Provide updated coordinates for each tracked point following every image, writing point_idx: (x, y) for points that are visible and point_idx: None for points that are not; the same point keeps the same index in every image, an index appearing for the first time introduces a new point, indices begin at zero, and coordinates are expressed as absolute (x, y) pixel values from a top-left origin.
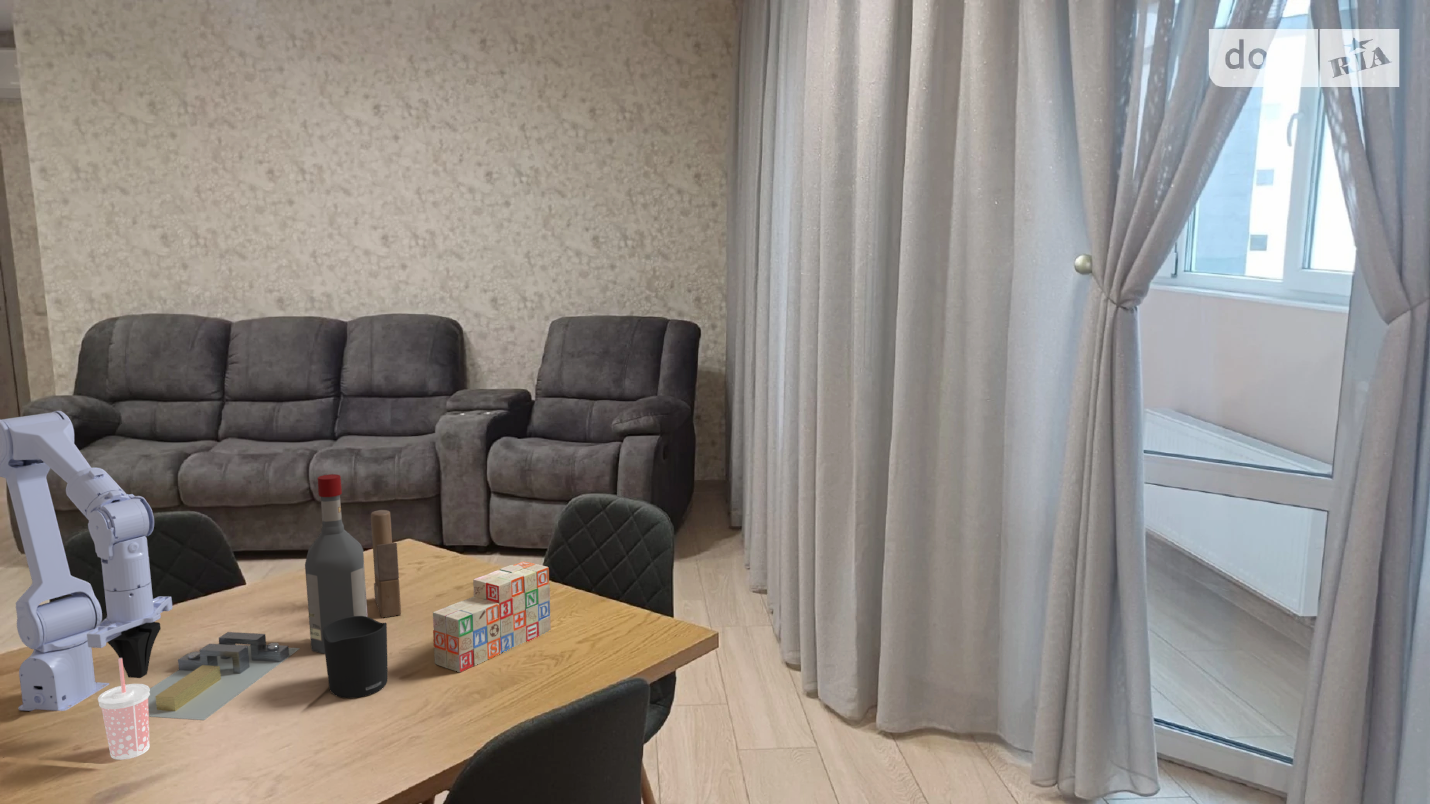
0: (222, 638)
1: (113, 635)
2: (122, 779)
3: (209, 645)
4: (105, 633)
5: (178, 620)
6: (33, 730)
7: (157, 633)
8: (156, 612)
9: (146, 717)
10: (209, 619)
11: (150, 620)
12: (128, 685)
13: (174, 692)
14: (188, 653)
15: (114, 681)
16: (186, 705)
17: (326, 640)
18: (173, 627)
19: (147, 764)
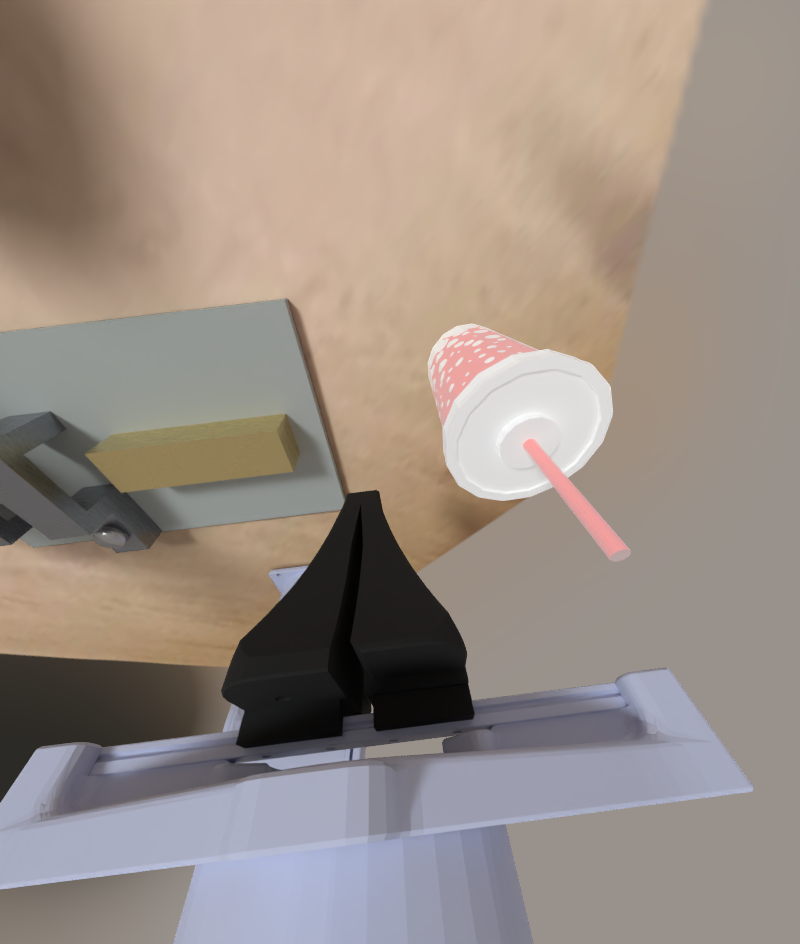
0: (2, 536)
1: (534, 716)
2: (574, 288)
3: (54, 533)
4: (697, 780)
5: (64, 633)
6: (411, 555)
7: (269, 618)
8: (209, 832)
9: (488, 344)
10: (11, 613)
11: (390, 799)
12: (462, 472)
13: (257, 448)
14: (115, 551)
15: (254, 575)
16: (253, 410)
17: None
18: (83, 625)
19: (505, 283)
